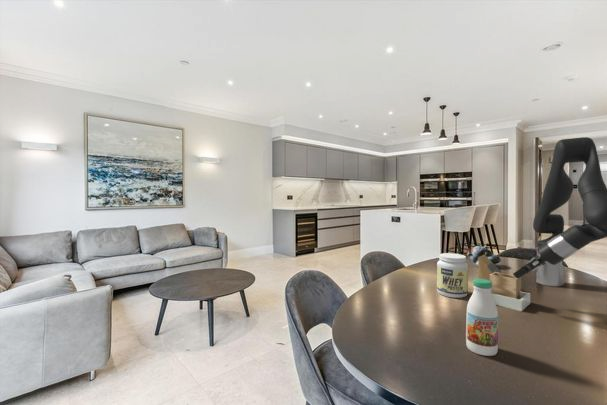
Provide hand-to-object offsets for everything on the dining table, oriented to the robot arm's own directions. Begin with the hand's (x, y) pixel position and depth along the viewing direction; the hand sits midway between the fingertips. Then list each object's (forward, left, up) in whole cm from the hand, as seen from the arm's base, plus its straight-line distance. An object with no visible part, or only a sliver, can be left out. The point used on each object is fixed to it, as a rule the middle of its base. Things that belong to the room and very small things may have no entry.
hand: (518, 274), depth 115 cm
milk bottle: (+33, +31, -13) cm, 47 cm away
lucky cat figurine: (-22, -58, -13) cm, 63 cm away
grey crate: (+3, -4, -12) cm, 13 cm away
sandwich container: (-4, -16, -13) cm, 21 cm away
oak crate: (+3, -4, -12) cm, 12 cm away
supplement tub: (+19, -14, -13) cm, 27 cm away
